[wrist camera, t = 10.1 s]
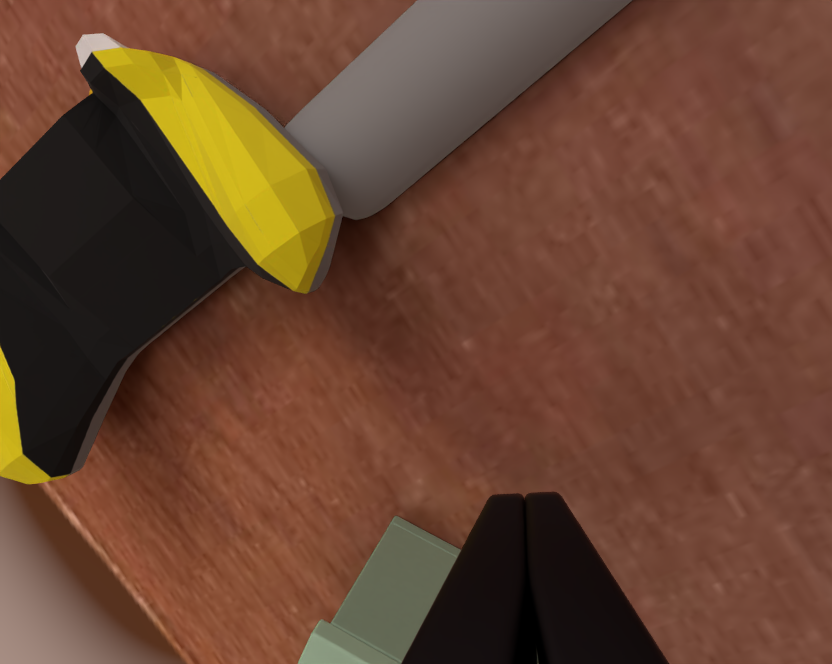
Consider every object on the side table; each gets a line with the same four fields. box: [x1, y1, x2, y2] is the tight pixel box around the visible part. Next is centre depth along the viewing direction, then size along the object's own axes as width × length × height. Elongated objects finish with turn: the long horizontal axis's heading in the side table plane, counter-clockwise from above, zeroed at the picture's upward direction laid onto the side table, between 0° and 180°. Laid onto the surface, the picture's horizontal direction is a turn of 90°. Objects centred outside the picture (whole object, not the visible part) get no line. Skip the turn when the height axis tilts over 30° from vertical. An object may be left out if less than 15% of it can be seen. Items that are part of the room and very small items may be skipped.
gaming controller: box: [0, 33, 343, 484], centre depth 23 cm, size 15×6×10 cm
